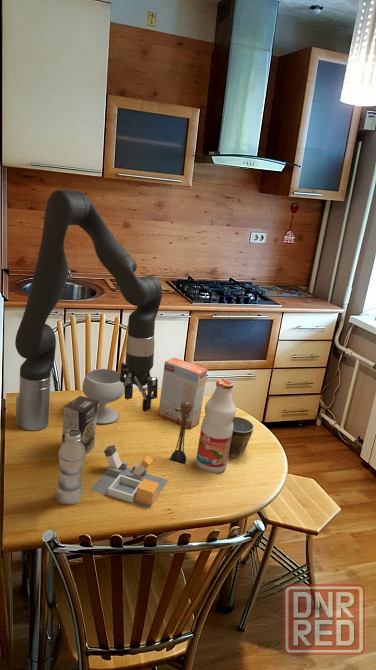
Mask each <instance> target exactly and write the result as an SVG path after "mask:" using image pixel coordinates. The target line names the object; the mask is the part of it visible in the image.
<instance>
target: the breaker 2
mask: <svg viewBox="0 0 376 670" xmlns="http://www.w3.org/2000/svg"><path fill="white" fill-rule="evenodd" d="M153 461H154V459H153V458H152V457H151V456H150V455H146V457H145V458H144V459H143V460H142V461H141V462H140V463H139V464H138V465H136V466H137V468H136V469H135V470H134V471H133V473H132V474H134V475H137V476H140V475H141V474H142V473H143V471H144V470H145V469H148V467H149V466H151V464H152V462H153Z"/></svg>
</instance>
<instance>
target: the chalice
mask: <svg viewBox="0 0 376 670" xmlns="http://www.w3.org/2000/svg"><path fill="white" fill-rule="evenodd" d="M120 373H121V372H120ZM120 373H119V372H118V371H116V370H113V369H108V368H96V369H93V370H90V371H89V372H88V373H87V374H86V375H85V377H84V379H83V381H82V388H81V389H82V392H83V394H84V395H85V397H87V398H91V399H94V400H97V401H98V408H97V419H96V424H102V425H104V424H112V423H114V422H116V421H118V420H119V417H120V413H119V412H118V411H117V410H116V409H114V408H112V407H109V406H106V405H107V404H108V403H113V402H115V401H116V402H117V400H120V399H121V398H122V396H124V393H125V387H124V385H123V382H120Z"/></svg>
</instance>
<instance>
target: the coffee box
mask: <svg viewBox="0 0 376 670" xmlns="http://www.w3.org/2000/svg"><path fill="white" fill-rule="evenodd" d="M98 406H99V404H98V401H97V400H94V399H91V398H88V397H86V396H82V395H78V396H77V397H76V398H75V399H73V400H71V401H70V402H69V403H67V404H66V405H65V406H64V408H63V418H62V419H63V420H62V430H61V431H62V435H61V445H62V444H63V443H64V442H65V433H66V431H67V430H71V429H75V430H79V431H80V432H81V441H80V442H81V443H82V444H83V446H84V447H85V451H86V453H85V456H86V455H88V453H89V452H91V451H92V450H93V449H94V448H95V441H96V429H97V423H96V419H97V408H98Z"/></svg>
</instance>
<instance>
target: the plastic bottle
mask: <svg viewBox="0 0 376 670" xmlns="http://www.w3.org/2000/svg"><path fill="white" fill-rule="evenodd" d="M80 441H81V432H80V431H79V430H75V429H71V430H67V431H66V433H65V442H64V443H63V444H62V443H61V445H60V446H59V448H58V449H59V450H58V462H59V475H58V480H57V481H58V482H57V485H56V489H55V499H56V501H57V502H58V503H60V504H62V505H66V506H68V505H74V504H77V503H79V501H80V500H81V498H82V495H83V486H82V473H83V472H82V471H83V465H84V461H85V457H86V455H85V453H86V451H85V447H84V446H83V444H82V443H81V442H80Z"/></svg>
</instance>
